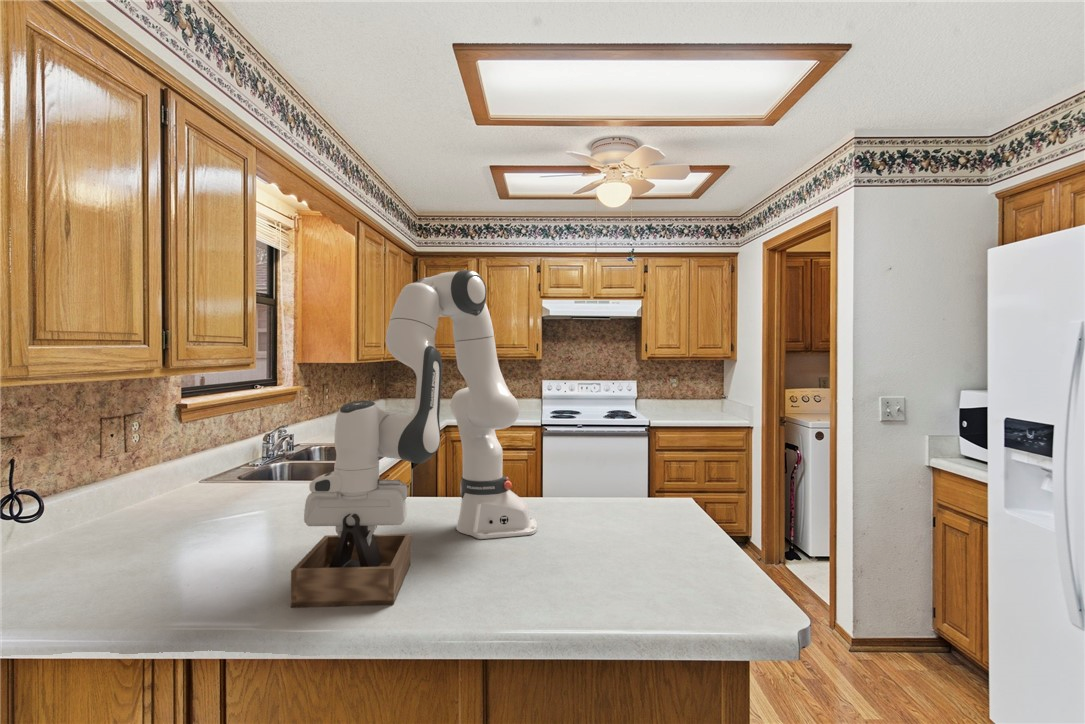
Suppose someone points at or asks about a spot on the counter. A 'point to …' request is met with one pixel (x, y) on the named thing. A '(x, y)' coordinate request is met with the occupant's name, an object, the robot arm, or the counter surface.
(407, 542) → the walnut box
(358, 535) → the phone stand
